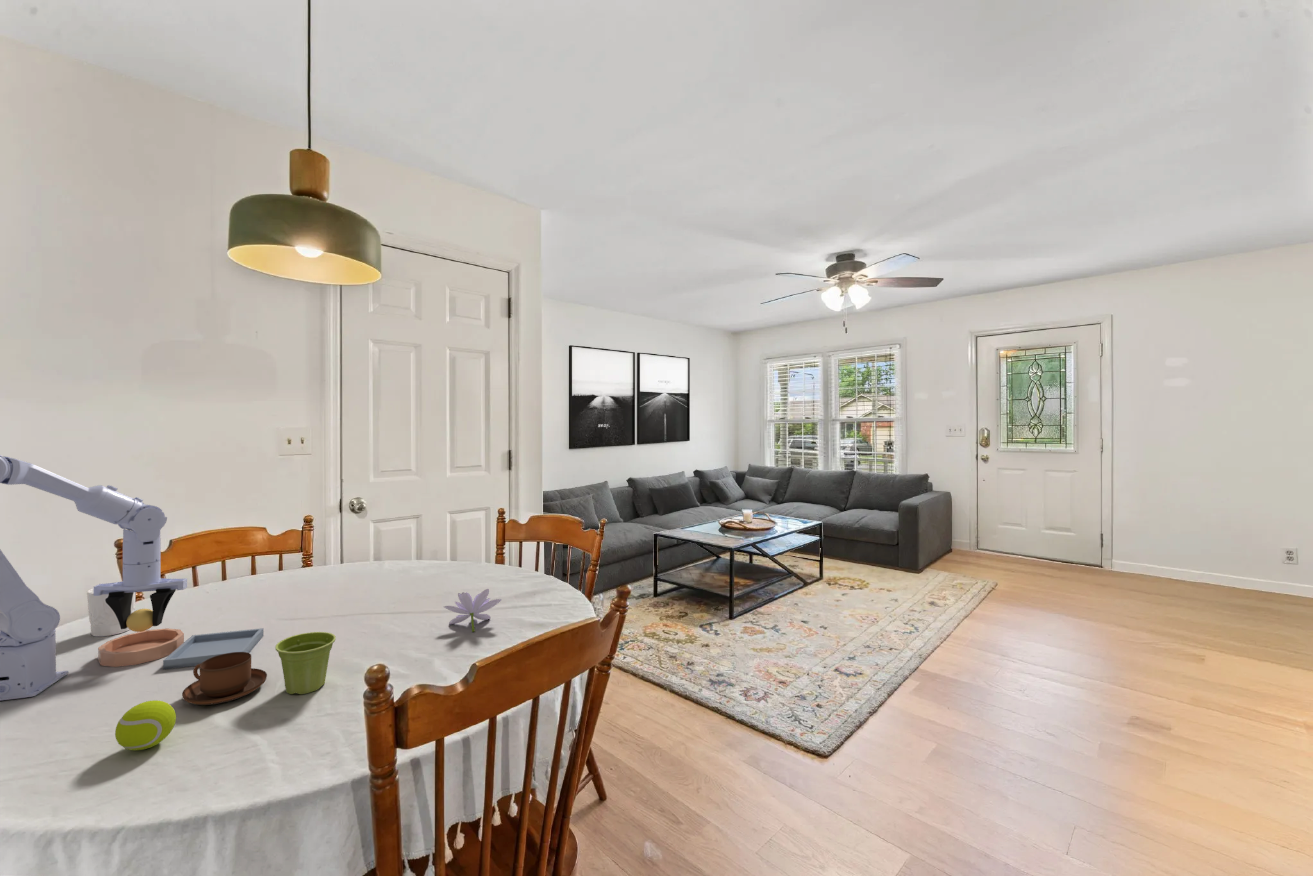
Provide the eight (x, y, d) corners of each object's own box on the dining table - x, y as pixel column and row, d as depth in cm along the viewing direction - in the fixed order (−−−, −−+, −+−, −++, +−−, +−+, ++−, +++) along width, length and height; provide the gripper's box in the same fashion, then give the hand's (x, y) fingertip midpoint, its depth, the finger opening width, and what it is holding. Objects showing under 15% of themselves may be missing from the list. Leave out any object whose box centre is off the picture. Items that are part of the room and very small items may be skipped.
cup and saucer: (166, 716, 90) (166, 679, 90) (204, 682, 101) (204, 649, 101) (250, 706, 93) (250, 672, 93) (277, 675, 105) (277, 643, 105)
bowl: (165, 661, 109) (165, 648, 109) (84, 670, 104) (83, 657, 104) (193, 637, 121) (193, 625, 120) (120, 644, 116) (120, 632, 116)
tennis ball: (110, 766, 77) (109, 720, 76) (120, 742, 82) (120, 700, 82) (172, 750, 81) (172, 706, 80) (178, 728, 86) (178, 687, 86)
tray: (243, 660, 110) (243, 651, 110) (163, 669, 105) (163, 660, 105) (263, 635, 122) (263, 628, 122) (192, 643, 117) (192, 635, 117)
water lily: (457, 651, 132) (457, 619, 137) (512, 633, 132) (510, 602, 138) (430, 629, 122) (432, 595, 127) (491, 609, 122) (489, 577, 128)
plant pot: (324, 670, 107) (324, 627, 106) (343, 686, 101) (343, 640, 100) (268, 688, 99) (268, 641, 99) (285, 706, 93) (285, 657, 93)
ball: (150, 633, 111) (149, 611, 111) (121, 636, 109) (121, 614, 109) (161, 625, 115) (161, 604, 115) (133, 628, 113) (133, 606, 113)
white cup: (105, 639, 118) (104, 594, 118) (77, 636, 120) (77, 591, 119) (145, 626, 126) (145, 584, 126) (119, 623, 128) (119, 581, 127)
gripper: (193, 554, 118) (193, 615, 118) (107, 559, 113) (107, 622, 113) (178, 562, 112) (178, 627, 112) (86, 567, 106) (86, 635, 107)
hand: (141, 626), depth 112 cm, fingers closed on ball, 5 cm apart
